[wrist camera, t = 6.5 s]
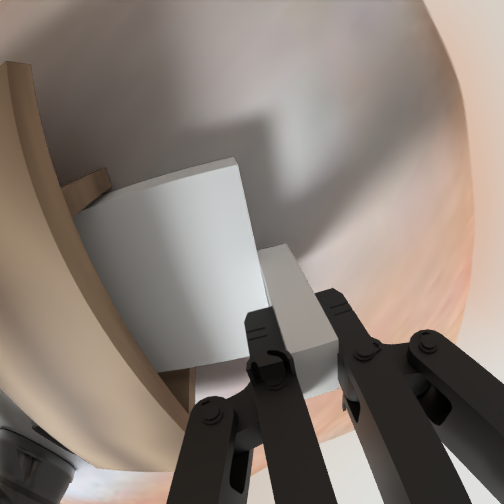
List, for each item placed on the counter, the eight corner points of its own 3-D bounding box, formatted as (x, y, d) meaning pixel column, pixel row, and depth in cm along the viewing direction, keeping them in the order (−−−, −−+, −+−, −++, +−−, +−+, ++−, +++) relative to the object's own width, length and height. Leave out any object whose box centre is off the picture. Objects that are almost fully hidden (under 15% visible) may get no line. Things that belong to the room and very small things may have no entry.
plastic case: (82, 350, 17) (71, 380, 15) (15, 229, 13) (-11, 251, 10) (268, 315, 18) (277, 349, 15) (232, 155, 13) (237, 164, 10)
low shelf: (106, 414, 20) (97, 468, 15) (-41, 165, 9) (-103, 195, 4) (216, 403, 21) (222, 468, 15) (81, 75, 9) (6, 61, 4)
